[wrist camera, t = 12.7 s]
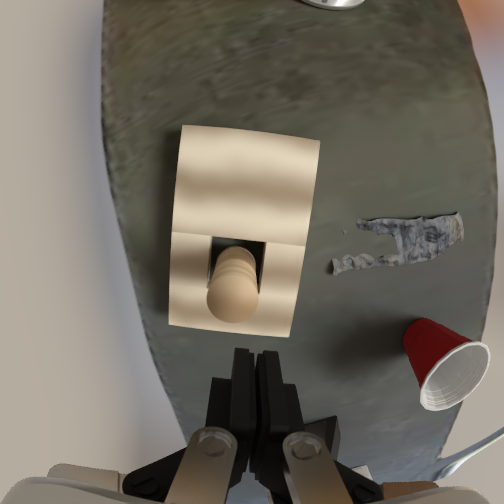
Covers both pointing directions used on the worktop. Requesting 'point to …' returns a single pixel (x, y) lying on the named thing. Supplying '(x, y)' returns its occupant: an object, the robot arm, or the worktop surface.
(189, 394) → the worktop surface
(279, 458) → the robot arm
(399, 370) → the worktop surface
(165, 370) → the worktop surface
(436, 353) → the plastic cup
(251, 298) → the peg
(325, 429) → the phone stand
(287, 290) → the board
